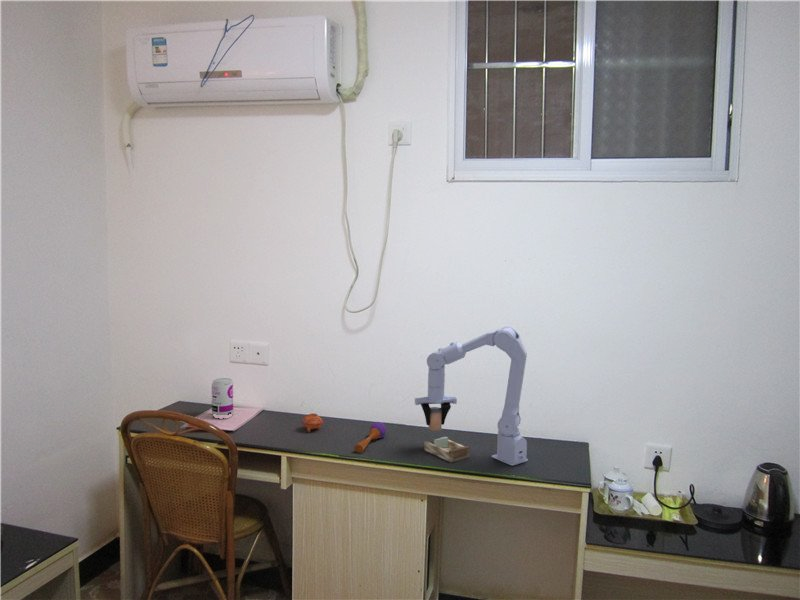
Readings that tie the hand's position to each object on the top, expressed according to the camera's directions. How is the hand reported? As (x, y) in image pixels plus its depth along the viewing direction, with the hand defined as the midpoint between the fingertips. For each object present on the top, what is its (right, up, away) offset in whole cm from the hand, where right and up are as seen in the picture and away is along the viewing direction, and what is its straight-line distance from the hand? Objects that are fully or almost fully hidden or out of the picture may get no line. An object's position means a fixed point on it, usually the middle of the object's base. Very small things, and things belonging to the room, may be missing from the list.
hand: (435, 424), depth 203 cm
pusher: (+2, -8, -2) cm, 8 cm away
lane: (+4, -9, -4) cm, 11 cm away
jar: (0, -2, 0) cm, 2 cm away
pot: (-45, -6, +17) cm, 49 cm away
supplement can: (-83, -4, +31) cm, 89 cm away
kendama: (-23, -8, +4) cm, 25 cm away
